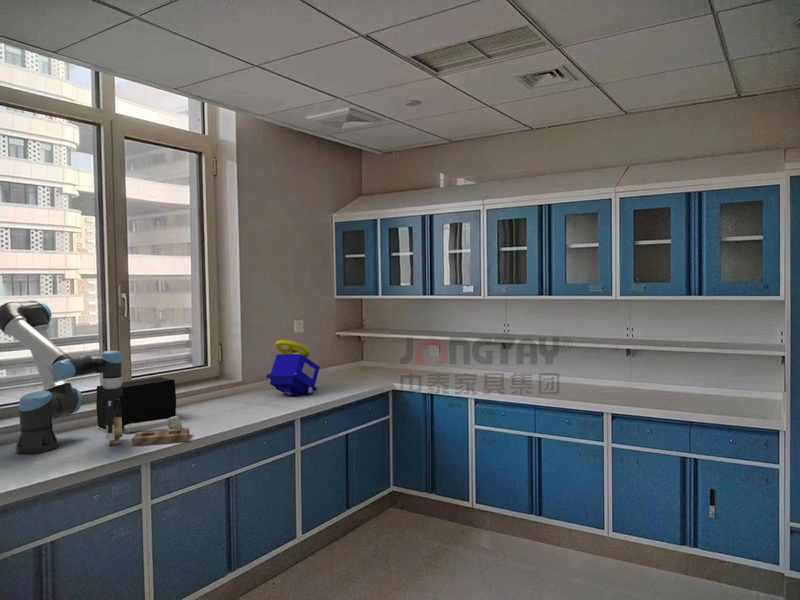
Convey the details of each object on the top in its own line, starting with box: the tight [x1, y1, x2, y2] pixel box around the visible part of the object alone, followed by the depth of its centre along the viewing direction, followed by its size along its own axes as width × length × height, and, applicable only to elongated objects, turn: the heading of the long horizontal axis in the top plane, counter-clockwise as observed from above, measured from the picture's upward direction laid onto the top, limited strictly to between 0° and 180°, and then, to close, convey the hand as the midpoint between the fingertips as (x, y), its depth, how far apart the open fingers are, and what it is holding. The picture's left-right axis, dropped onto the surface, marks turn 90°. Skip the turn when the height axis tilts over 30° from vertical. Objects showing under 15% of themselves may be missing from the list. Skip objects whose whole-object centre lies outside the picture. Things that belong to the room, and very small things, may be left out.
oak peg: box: [105, 417, 123, 446], centre depth 254 cm, size 6×6×11 cm
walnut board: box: [131, 427, 191, 447], centre depth 259 cm, size 22×12×3 cm, turn 104°
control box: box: [266, 339, 321, 397], centre depth 361 cm, size 26×27×30 cm
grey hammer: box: [122, 415, 183, 434], centre depth 276 cm, size 5×7×25 cm
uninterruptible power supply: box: [95, 376, 177, 430], centre depth 291 cm, size 16×34×20 cm, turn 140°
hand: (114, 436), depth 255 cm, fingers open, 13 cm apart
